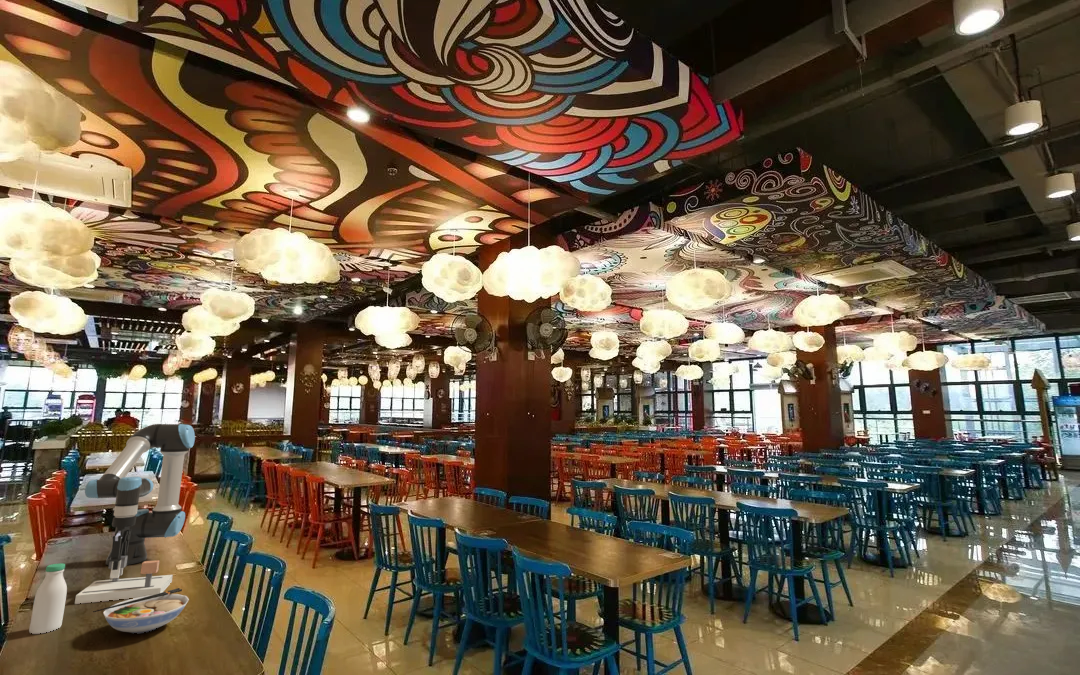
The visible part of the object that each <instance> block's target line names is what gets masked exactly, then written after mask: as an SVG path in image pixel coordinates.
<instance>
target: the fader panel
mask: <svg viewBox="0 0 1080 675" xmlns="http://www.w3.org/2000/svg"><path fill="white" fill-rule="evenodd" d="M112 580H113V579H105V580H94V581H93V582H91V583H90V585H88V586H86V587H85V588H84V589H83V590H81V591H80V592H79V593H77V594H76V595H75V600H74V605H79V604H80V603H81V604H89V603H90V604H91V602H92V603H101V602H100V601H102V602H110V601H109V600H113V601H120V600H119V599H124V600H130V599H129V598H138V597H144V596H149V595H155V594H159V593H162V592H166V589H167V588H168V587H169V586H170V585H171V584H170V583H172V582H173V574H166V575H165V574H164V575H152V579H151V585H150V586H149V587H145V580H146V576H141V577H128V578H127V577H126V578H119V580H118V581H112Z"/></svg>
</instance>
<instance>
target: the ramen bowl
mask: <svg viewBox="0 0 1080 675" xmlns="http://www.w3.org/2000/svg"><path fill="white" fill-rule="evenodd" d="M182 590H183V589H182V588H175V589H170V590H167V591H164V592H162V593H159V594H155V595H149V596H144V597H138V598H133V599H125V600H123V601H120V602H117V603H115V604H113V605H111V606H107V607H104V608H100V609H97V610H94V611H92V612H93V613H96V612H97V613H98V612H100V611H103V612H102V613H103V616H104V617H105V620H106V621H107V623H108V624H109V626H111V628H113V629H114V630H116V631H119V632H123V633H131V634H134V633H137V634H145V633H144V632H146V633H149V631H150V632H153V631H156V630H157V629H158V628H161V627H162V626H165V625H166V624H168V623H170V622H171V621H173V620H175V619H176V618H177V617H178V616H179V615H180V614H181V612H182V611H183V610H184V609H185V607H186V605H187V604H188V602H189V601H190V599H189V597H188V596H187V595H182V594H178V593H180V592H182ZM156 628H157V629H156ZM152 630H153V631H152Z"/></svg>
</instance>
